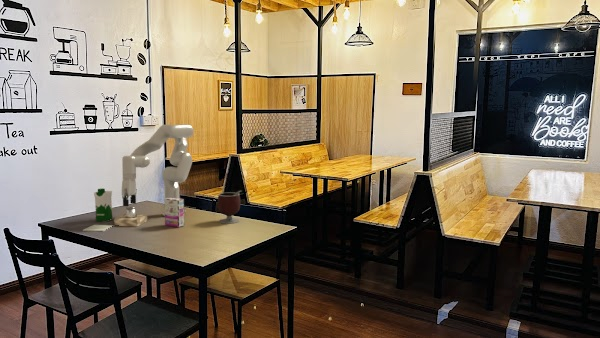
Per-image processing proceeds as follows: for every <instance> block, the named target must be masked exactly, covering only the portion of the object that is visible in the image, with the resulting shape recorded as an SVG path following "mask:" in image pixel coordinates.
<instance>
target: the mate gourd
mask: <svg viewBox="0 0 600 338" xmlns="http://www.w3.org/2000/svg"><path fill="white" fill-rule="evenodd" d="M241 192H242V190H238V191H236V192H221V193H220V192H219V193H218V195H217V208H218V211H219V213H221V214H222V215H225V216H226V218H225V217H224V218H221V219H218V220H219V221H218V222H219V223H220V224H224V225H225V224H226V225H229V224H237V223H239V222H240V219H239V218H233V215H236V214H238V212H239V211H240V208H241V196H240V193H241Z"/></svg>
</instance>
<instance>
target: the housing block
mask: <svg viewBox="0 0 600 338" xmlns="http://www.w3.org/2000/svg"><path fill="white" fill-rule="evenodd" d="M135 216H136V217H135V218H127V213H124V214H123V215H120V216H118V217H116V218H113V219H114V220H113V222H114V226H115V225H119V226H118V227H139V226H141V225H143V224H144V222H145V223H146V222H148V214H142V213H141V214H140V213H139V214H138V213H135Z"/></svg>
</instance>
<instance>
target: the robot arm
mask: <svg viewBox="0 0 600 338" xmlns="http://www.w3.org/2000/svg"><path fill="white" fill-rule="evenodd" d="M194 130H195V129H194V128H193V126H192V125H190V124H178V123H177V124H162V125H160V126H159V128H158V129H156V131H155V132H154V134H152V136H151V137H150V138H149V139H147V141H145V142H144V143H142V144H140V145H139V146H138V147H136V148H135V149H134V150H133V152H132V153H131V154H130V155H124V156H122V157H121V158H122V163H121V164H122V182H121V196H122V207H129V206H130V205H129V204H137V190H138V189H137V182H136V179H137V168H142V169H143V168H147V167H148V166H149V165H150V164H151V163H150V162H151V160H150V158H149V156H147V155H148V154H151V153H153V152H156V151H158V150H160V149H161V148H162V147H163V145H164V144H165V143H166V142H167V141H168V140H169V139H174V146H173V148H172V151H171V155H170V157H169V162H170V164H171V165H173V166H166V167H165V168H164V169H163V171H162V176H161V177H162V181H163V188H164V189H163V190H164V192H163V193H164V196H163V197H164V199H165V198H179V199H181V196H180V185H179V183H180V184H182V183H184V182H185V181H186V180H187V178H188V176H189V173H190V170H191V168H192V165H193V157H192V155H191V154H190V153H189V152H187V151H188V147H189V143H188V138H191V137H193V136H194V133H195V132H194ZM129 197H130V200H129ZM129 201H130V202H129ZM186 212H187V210H186V209H185V208H184V213H186ZM162 216H164V217H165V211H164V212H162Z"/></svg>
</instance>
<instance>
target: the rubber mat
mask: <svg viewBox="0 0 600 338" xmlns="http://www.w3.org/2000/svg"><path fill="white" fill-rule="evenodd" d="M112 226H113V227H115V225H113V224H110V225H109V224H93V225H90V226H88V227H86V228H84V229H82V231H84V232H105V231H107V230H109V229H111V228H113V227H112ZM110 227H111V228H110ZM108 228H109V229H108ZM106 229H107V230H106Z"/></svg>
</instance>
